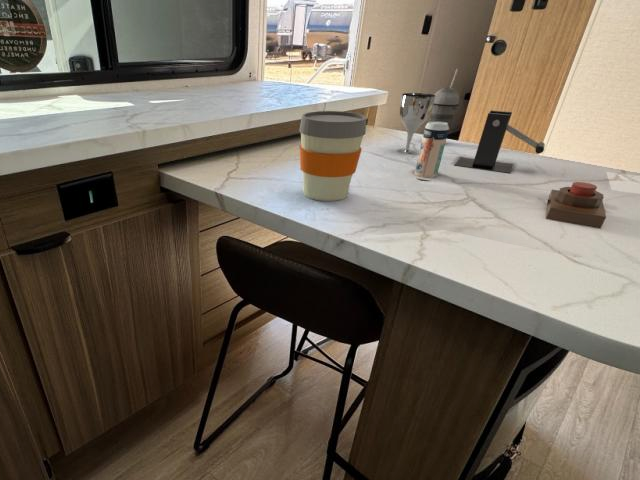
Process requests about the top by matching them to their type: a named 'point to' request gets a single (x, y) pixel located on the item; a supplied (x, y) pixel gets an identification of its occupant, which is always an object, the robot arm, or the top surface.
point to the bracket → (490, 145)
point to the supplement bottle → (431, 149)
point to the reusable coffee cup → (330, 152)
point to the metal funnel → (415, 112)
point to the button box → (576, 208)
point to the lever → (526, 139)
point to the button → (583, 189)
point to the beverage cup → (445, 104)
